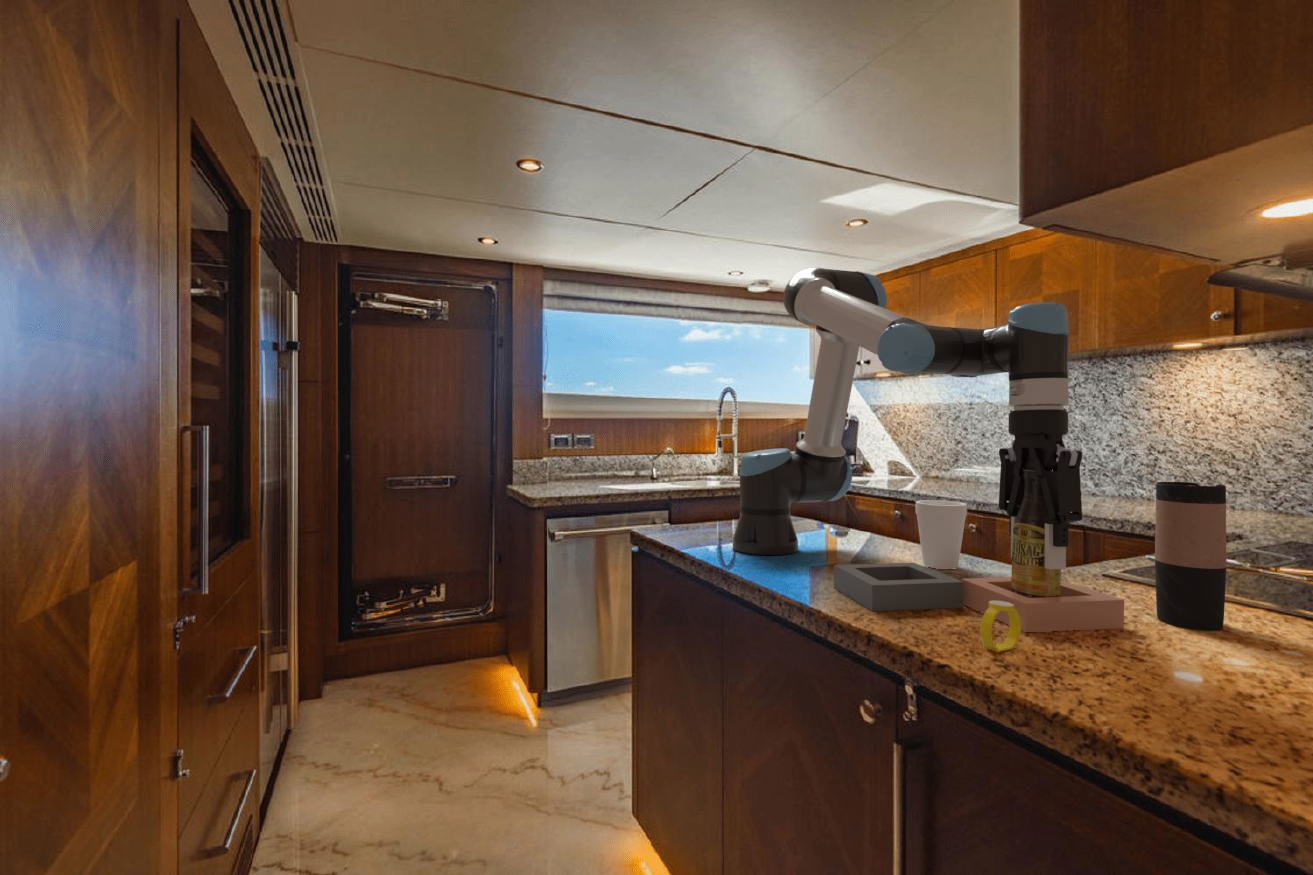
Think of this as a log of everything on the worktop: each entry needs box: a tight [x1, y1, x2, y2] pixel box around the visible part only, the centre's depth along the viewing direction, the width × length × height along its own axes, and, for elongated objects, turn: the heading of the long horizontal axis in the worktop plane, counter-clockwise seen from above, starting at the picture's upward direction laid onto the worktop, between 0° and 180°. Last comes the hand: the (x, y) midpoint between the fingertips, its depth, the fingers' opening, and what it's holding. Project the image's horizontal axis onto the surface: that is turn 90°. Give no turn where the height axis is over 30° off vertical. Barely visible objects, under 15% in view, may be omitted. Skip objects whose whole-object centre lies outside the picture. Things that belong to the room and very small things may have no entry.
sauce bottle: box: [1010, 470, 1062, 598], centre depth 89 cm, size 7×6×20 cm
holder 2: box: [960, 576, 1125, 633], centre depth 89 cm, size 14×15×4 cm
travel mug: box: [1154, 481, 1227, 632], centre depth 85 cm, size 8×8×20 cm
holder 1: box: [833, 562, 964, 612], centre depth 99 cm, size 14×15×4 cm
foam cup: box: [915, 499, 968, 570], centre depth 121 cm, size 10×9×13 cm
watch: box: [979, 601, 1022, 653], centre depth 75 cm, size 6×3×6 cm, turn 115°
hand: (1037, 563), depth 89 cm, fingers closed on sauce bottle, 6 cm apart
